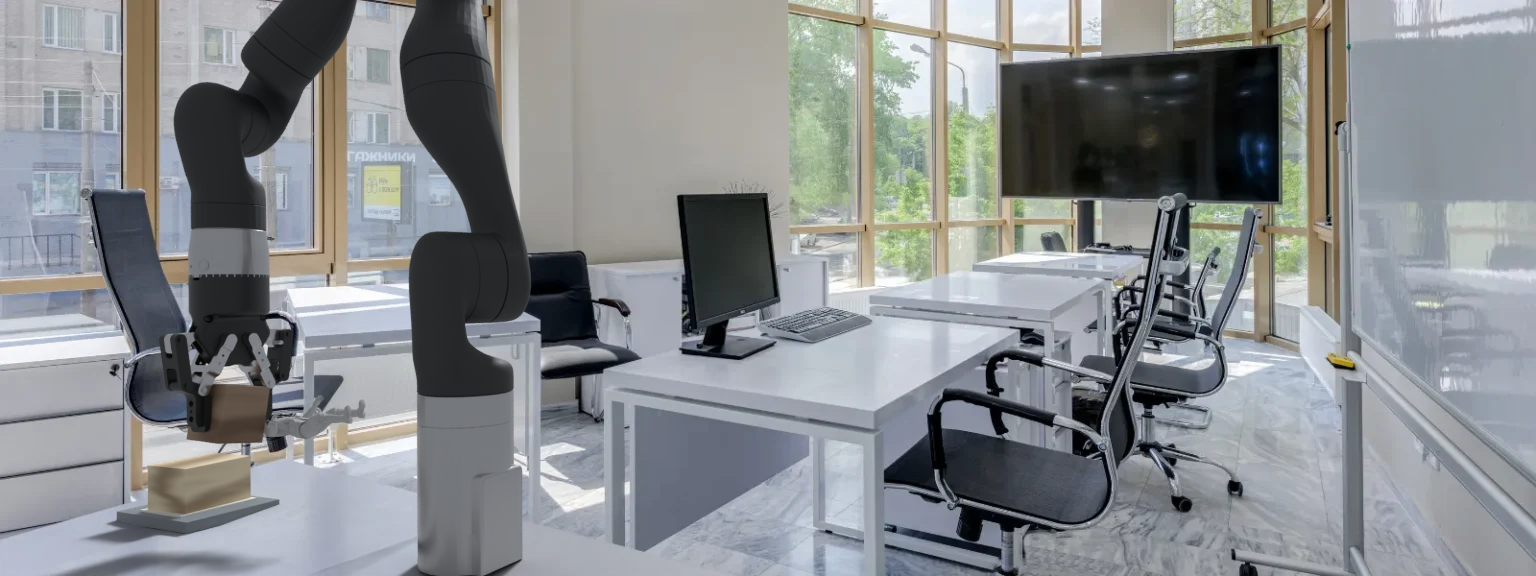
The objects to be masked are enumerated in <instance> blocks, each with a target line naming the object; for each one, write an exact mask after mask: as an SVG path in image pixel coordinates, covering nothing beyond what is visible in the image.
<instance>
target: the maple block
mask: <svg viewBox="0 0 1536 576" xmlns="http://www.w3.org/2000/svg"><path fill="white" fill-rule="evenodd" d="M251 460H252V457H251V455H246V454H234V453H233V454H232V453H224V452H222V453H221V452H211V453H206V454H201V455H195V456H189V457H185V458H179V459H175V460H170V461H164V462H159V463H154V464H153V463H152V464H149V465H147V505H148V510H154V511H163V512H171V513H179V514H189V513H193V512H197V511H201V510H205V509H209V508H213V507H216V506H220V505H224V504H228V503H232V502H236V501H240V500H244V499H248V498H251V496H252V493H251V492H252V490H251V487H252V485H251V484H252V482H251V481H252V480H251V479H252V477H251V476H252V475H251V473H252V472H251V470H252V469H251V465H252V464H251V462H252V461H251Z"/></svg>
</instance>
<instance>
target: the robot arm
mask: <svg viewBox="0 0 1536 576" xmlns="http://www.w3.org/2000/svg"><path fill="white" fill-rule="evenodd" d="M357 3H358V0H281V1H280V3H279V4H278V5H277V6H276V7H275V8H274V10H273V11H272V12H271V13H270V14H269V16H267V17H266V19H265V20H264V21H263V23H262V24H261V25H260V26H259V27H258V28H257V29H256V30H255V32H254V33H253V34H252V35H251V36H250V37H249V39H248V40H247V41H246V42H245V44H244V46H243V47H242V49H241V51H240V59H241V62H242V64H243V65H244V67H245V68H246V69H247V70H248V73H247V76H246V77H245V79H244V81H243V83H242V85H241V86H240V88H238V89H235V88H233V87H232V88H231V87H230V86H227V85H224V84H221V83H217V82H212V81H203V82H201V81H200V82H197V83H195V84H193V85H190V86H189V87H188V88H187V89H185V90H184V91H183V93H182V94H181V95H180V97H179V98H178V100H177V103H176V105H175V109H174V114H173V129H174V130H173V131H174V137H175V142H176V145H177V150H178V153H179V157H180V162H181V164H182V168H183V172H184V175H185V178H186V181H187V183H188V186H189V189H190V190H189V191H190V235H189V236H190V237H189V238H190V239H189V242H188V248H187V251H188V252H187V258H188V259H187V263H188V264H187V266H188V268H187V269H188V271H187V273H188V276H187V278H188V281H187V283H188V284H187V285H188V286H187V287H188V313H189V315H190V317H191V319H192V320H191V324H190V327H189V329H188V331H187V332H186V331H185V332H180V333H164V334H161V335H160V337H159V339H158V342H159V348H160V356H161V357H160V358H161V364H162V365H161V366H162V371H163V379H164V387H165V389H166V390H167V391H168V392H175V393H179V394H182V395H184V397H185V398H186V424H187V425H188V426H187V428H188V427H191V430H192V431H193V432H201V433H202V432H208V431H209V430H210V427H211V396H207V395H208V393H209V392H210V389H211V387H212V385H213V383H215V381H216V379H217V377H219V376H221V374H222V372H223V370H224V368H225V367H227V368H228V367H232V366H238V367H237V368H239V370H240V371H241V372H242V373H244V374H245V376H246V378H247V380H248V382H249V384H250V385H251V386H261V387H270V390H269V398H268V405H267V412H266V419H265V423H266V424H268V423H269V422H270V420H271V418H272V416H273V415H272V414H273V410H274V409H273V389H274V387H275V386H276V385H278V384H280V383H282V382H288V380H289V379H290V373H291V364H292V363H291V362H292V352H293V342H294V331H293V329H290V328H270V326H269V325H268V324H269V323H268V322H267V315H268V314H269V313H270V311H271V306H270V305H271V300H270V299H271V294H270V292H271V291H270V290H271V288H270V287H271V285H270V281H271V280H270V249H269V248H270V247H269V243H268V242H269V241H268V236H267V234H268V233H267V196H266V190H265V187H264V185H263V183H262V182H260V180H258V179H257V178H255V176H253V175H252V174H251V173H250V172H249V170H248V169H247V163H246V159H245V158H248V159H249V158H253V157H256V156H259V155H262V154H264V153H265V152H267V151H268V150H270V148H272V147H273V146H274V145H275V144H276V143H277V142H278V141H279V140H280V138H281V137H282V135H284V132H285V131H286V130H287V126H288V124H289V123H290V122H291V120H292V117H293V114H294V113H295V111H296V109H297V107H298V105H299V102H300V100H301V98H302V95H303V93H304V91H305V89H306V88H307V86H309V85H310V84H311V82H312V81H313V80H314V79H315V78H316V77H317V76H318V74H319V73H320V72H321V71H322V69H324V68H325V66H326V65H327V64H328V62H329V61H330V60H331V59H332V58H333V57H334V56H335V54H336V53H337V52H338V51H339V50H340V48H341V47H342V45H343V44H344V42H345V40H346V38H347V35H348V33H349V31H350V29H351V25H352V21H353V19H354V14H355V11H356V7H357ZM484 19H485V18H484V13H483V9H482V3H481V0H415V9H414V12H413V16H412V18H411V21H410V23H409V25H408V27H407V29H406V32H405V34H404V37H403V40H402V43H401V45H400V51H399V73H400V81H401V89H402V96H403V101H404V109H405V113H406V118H407V121H408V123H409V125H410V127H411V129H412V131H413V132H414V133H415V135H416V137H417V138H418V140H419V141H420V142H421V145H422V146H423V147H424V148H425V150H426V151H427V152H428V153H429V155H430V156H431V158H432V160H434V161H435V163H436V164H437V165H438V166H439V168H440V169H441V170H442V171H443V173H444V174H445V175H446V177H447V178H448V180H449V181H450V182H451V184H452V185H453V186H454V189H455V190H456V191H457V193H458V195H459V198H460V200H461V202H462V204H463V207H464V210H465V212H466V217H467V219H468V223H469V228H470V231H469V232H468V231H466V232H465V231H445V230H444V231H439V230H438V231H431V232H429V231H428V232H427V233H424V234H423V235H421V236H420V238H419V239H418V240H417V242H415V244H414V247H413V249H412V252H411V256H410V260H409V265H408V297H409V300H408V301H409V311H410V313H409V314H410V325H411V326H410V327H411V352H412V353H411V356H412V361H413V367H414V373H415V377H416V493H417V494H416V495H417V496H416V497H417V498H416V502H417V503H416V504H417V505H416V508H417V509H416V510H417V511H416V512H417V513H416V515H417V516H416V521H417V522H416V523H417V524H416V525H417V526H416V528H417V569H418V570H419V572H421V573H424V574H428V575H430V576H486V575H489V574H491V573H493V572H495V571H498V570H499V569H502V568H504V567H507V566H509V565H510V564H513V563H515V562H517V561H520V560H522V559H523V552H524V551H523V550H524V549H523V546H524V545H523V543H524V541H523V535H524V534H523V467H522V466H521V465H519V464H515V433H514V431H515V429H514V427H515V425H514V424H515V423H514V422H515V420H514V419H515V416H514V415H515V414H514V413H515V409H514V408H515V403H514V402H515V400H514V398H515V396H514V395H515V394H514V392H515V389H514V388H515V384H514V382H515V379H514V378H515V374H514V368H513V365H512V364H511V363H510V361H507V360H506V359H504V358H503V359H502V358H500V357H496V356H492V355H490V354H487V353H485V352H483V351H481V350H479V348H476V347H475V346H474V345H472V343H471V342H470V340H469V338H468V335H467V328H466V324H467V325H468V324H469V325H470V324H471V325H472V324H494V323H496V324H497V323H507V322H512V321H515V320H517V319H518V318H520V317H521V316H522V315H523V314H524V312H525V310H526V309H527V306H528V304H529V301H530V296H531V288H532V284H531V282H532V278H531V277H532V276H531V275H532V274H531V267H530V260H529V253H528V249H527V244H526V241H525V236H524V233H523V229H522V226H521V220H520V216H519V214H518V209H517V206H516V202H515V198H514V194H513V190H512V186H511V182H510V177H509V172H508V167H507V162H506V156H505V150H504V144H503V139H502V134H501V133H502V132H501V125H500V115H499V109H498V108H499V107H498V100H497V99H498V98H497V92H496V91H497V90H496V85H495V79H494V73H493V66H492V62H491V56H490V53H489V51H490V50H489V47H488V40H487V32H486V26H485V20H484ZM266 345H267V351H266V352H265V350H264V348H263V347H264V346H266ZM193 348H194V349H195V351H196V353H195V354H194V356H193V360H191V361H190V353H189V352H190V351H191V350H192V349H193ZM267 420H269V421H267Z"/></svg>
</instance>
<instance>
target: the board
mask: <svg viewBox="0 0 1536 576" xmlns="http://www.w3.org/2000/svg"><path fill="white" fill-rule="evenodd" d="M278 505H280V499H279V498H272V497H265V496H264V497H263V496H257V495H256V496H255V495H251V498H248V499H244V500H240V501H236V502H232V503H228V504H224V505H220V506H216V507H213V508H209V509H205V510H201V511H197V512H193V513H189V514H179V513H171V512H163V511H154V510H148V504H144V505H139V506H136V507H130V508H127V509H121V510H119V511H118V510H117V511H116V521H117V520H119V521H118V522H122V523H126V522H127V524H130V523H131V525H134V526H138V527H143V528H151V529H157V530H162V531H168V532H174V533H180V534H186V535H187V534H191V533H195V532H199V531H202V530H207V529H209V528H214V527H218V526H221V525H225V524H228V523H230V522H235V521H236V520H239V519H241V518H244V517H248V516H250V515H253V514H256V513H259V512H261V511H264V510H266V509H269V508H270V509H271V508H273V507H276V506H278Z"/></svg>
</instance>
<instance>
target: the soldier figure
mask: <svg viewBox="0 0 1536 576" xmlns="http://www.w3.org/2000/svg"><path fill="white" fill-rule="evenodd" d="M323 400H325V397H324V395H322V394H321V395H320V394H319V395H318V396H316V397H315V399H314V401H313V403H312V405H311V406H310V408H309V409H307V412H305V413H304V414H303V415H294V416H291V417H290V416H283V417H280V418H278V416H280V415H281V413H280V412H277V413H274V414H273V415H271V418H270V419H269V420H267V421H269V422H267V423H265V426H264V433H263V438H265V437H268V438H275V437H278V438H279V437H287V436H292V437H294V438H296V439H300V440H309V439H311V438H313V437H316V436H317V435H319V434H321V433H323V432H325V430H326V429H327V428H328V427H329V426H331V425H332V424H340V423H345V424H353V422H354V421H353V418H358V419H365V418H366V412H365V408H366V402H365V400H364V399H360V400H359V401H358V408H355V409H352V408H351V406H350V405H345V406H344V408H341V407H338V406H335V407H332V408H330V409H329V410H327V411H326V412H324V411H319V412H316V411H317V410H318V406H319V405H320V404H321V402H322V401H323Z"/></svg>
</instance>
